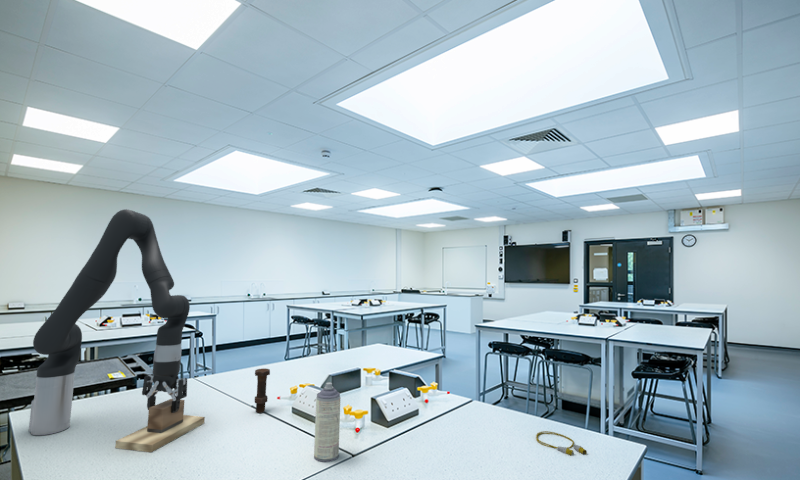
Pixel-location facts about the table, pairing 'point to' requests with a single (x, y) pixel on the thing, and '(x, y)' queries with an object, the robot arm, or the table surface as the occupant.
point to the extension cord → (562, 449)
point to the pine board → (158, 436)
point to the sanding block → (164, 417)
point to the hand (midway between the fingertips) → (162, 410)
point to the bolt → (261, 389)
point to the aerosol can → (327, 424)
